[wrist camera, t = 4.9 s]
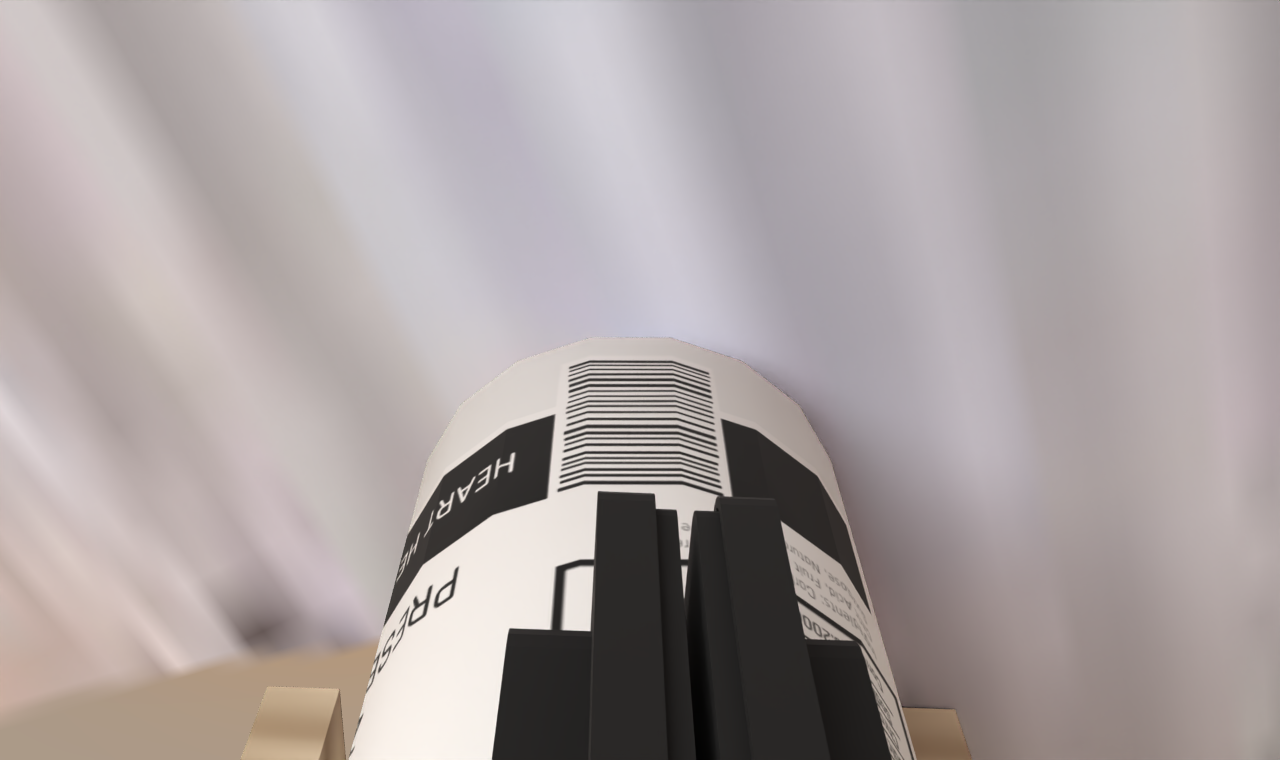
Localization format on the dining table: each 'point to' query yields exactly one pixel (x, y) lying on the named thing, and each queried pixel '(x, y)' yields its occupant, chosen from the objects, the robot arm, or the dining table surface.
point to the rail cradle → (315, 751)
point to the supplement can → (592, 525)
